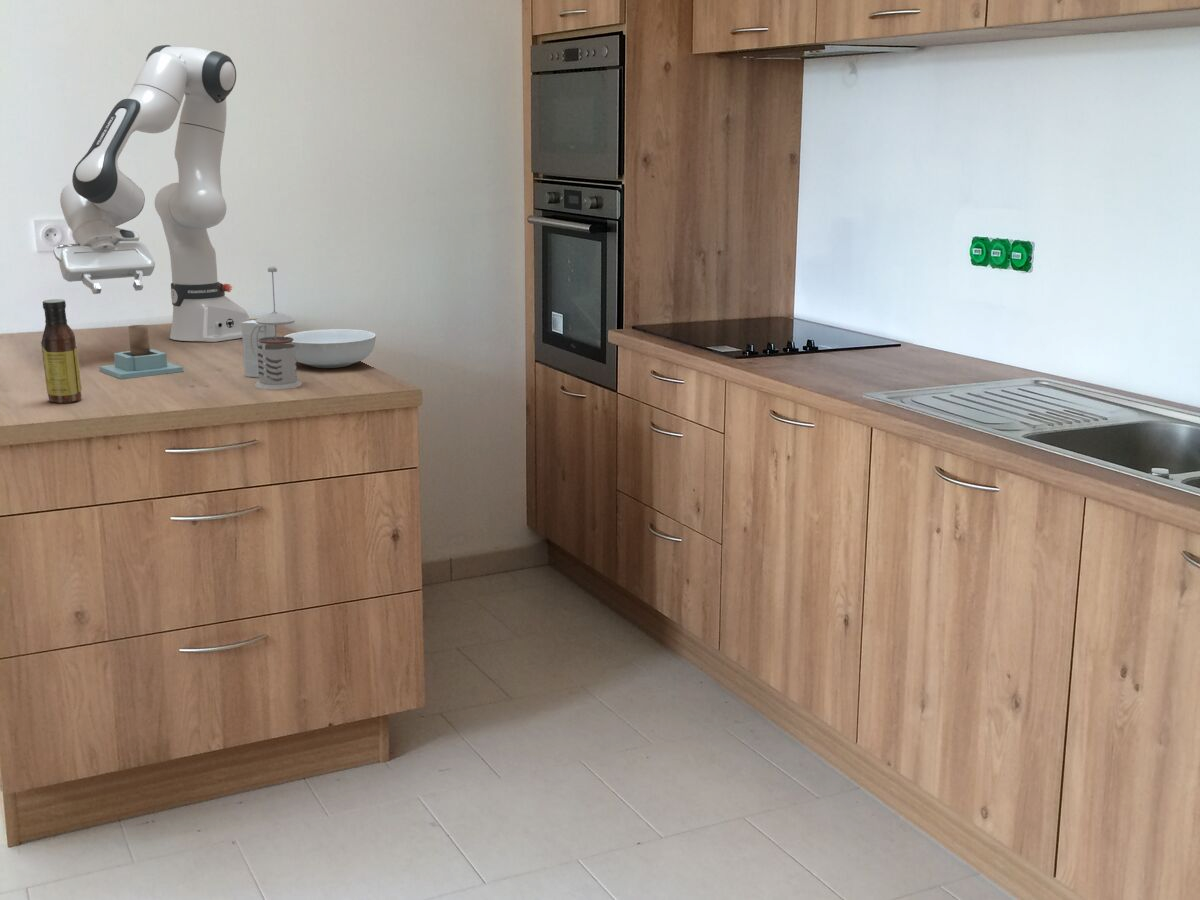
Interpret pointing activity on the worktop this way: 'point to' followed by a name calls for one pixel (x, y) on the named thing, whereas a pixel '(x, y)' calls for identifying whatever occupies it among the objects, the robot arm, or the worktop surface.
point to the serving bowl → (332, 347)
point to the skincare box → (254, 345)
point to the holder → (140, 365)
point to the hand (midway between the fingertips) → (118, 290)
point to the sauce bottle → (60, 355)
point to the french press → (276, 352)
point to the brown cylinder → (139, 340)
